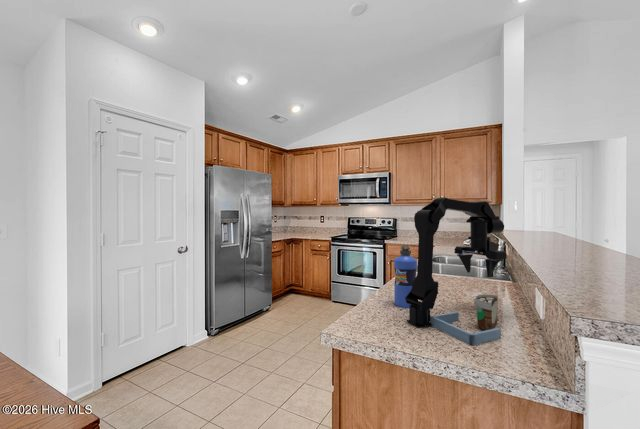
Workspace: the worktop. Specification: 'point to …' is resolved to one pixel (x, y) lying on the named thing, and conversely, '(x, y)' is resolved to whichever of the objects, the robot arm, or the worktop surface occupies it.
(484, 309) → the food container
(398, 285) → the water bottle
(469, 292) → the worktop surface
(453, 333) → the slate-blue bay
